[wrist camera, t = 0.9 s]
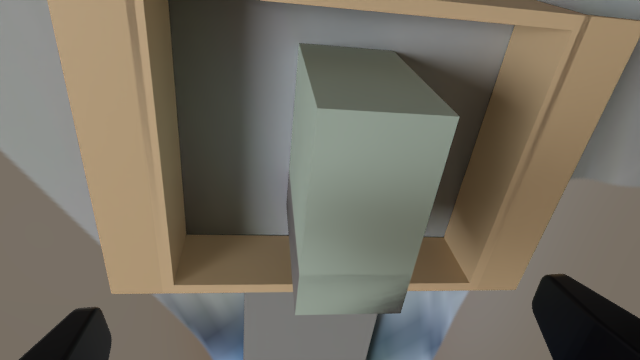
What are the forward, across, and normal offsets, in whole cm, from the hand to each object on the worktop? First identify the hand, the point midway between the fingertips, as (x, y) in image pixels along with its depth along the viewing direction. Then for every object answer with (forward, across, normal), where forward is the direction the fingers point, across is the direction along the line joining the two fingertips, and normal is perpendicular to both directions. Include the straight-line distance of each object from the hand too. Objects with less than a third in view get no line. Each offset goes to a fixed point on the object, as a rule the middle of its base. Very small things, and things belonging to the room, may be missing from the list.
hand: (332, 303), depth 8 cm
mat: (+11, -1, +15) cm, 19 cm away
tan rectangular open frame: (+11, -2, +2) cm, 12 cm away
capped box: (+11, -2, +2) cm, 12 cm away
